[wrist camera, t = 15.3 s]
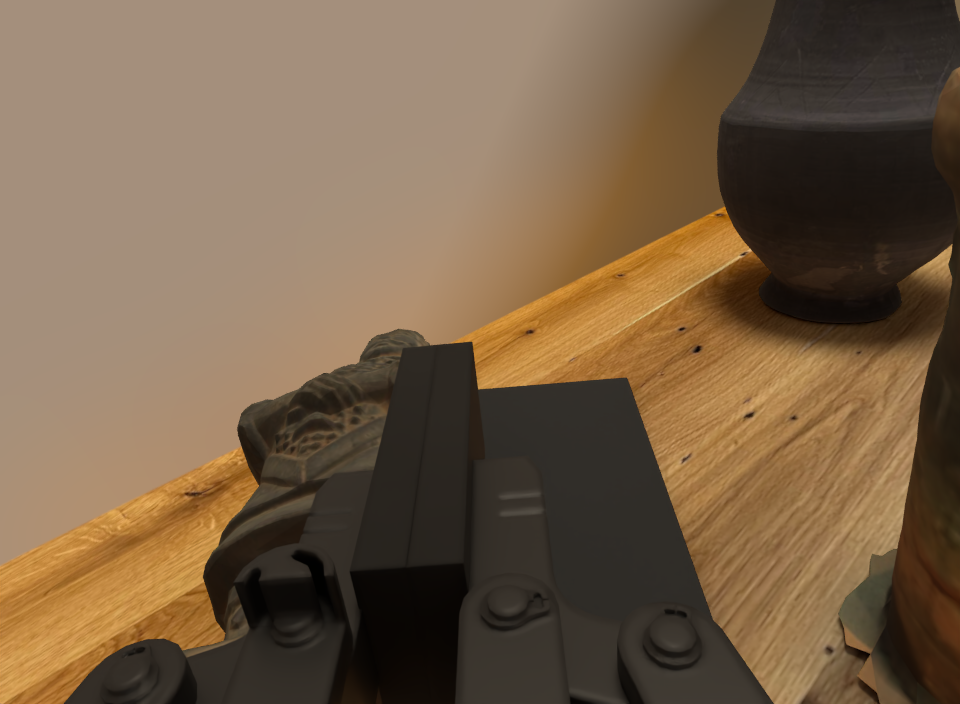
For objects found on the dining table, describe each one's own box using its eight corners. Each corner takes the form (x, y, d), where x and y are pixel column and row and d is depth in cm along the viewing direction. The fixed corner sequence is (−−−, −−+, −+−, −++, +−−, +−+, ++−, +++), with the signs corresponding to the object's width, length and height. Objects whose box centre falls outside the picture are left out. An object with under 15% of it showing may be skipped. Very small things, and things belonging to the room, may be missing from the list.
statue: (-25, 717, 17) (280, 286, 44) (175, 913, 21) (343, 407, 48) (395, 597, 16) (445, 226, 43) (529, 833, 19) (497, 355, 46)
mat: (717, 644, 27) (717, 632, 26) (356, 665, 28) (353, 654, 27) (627, 385, 45) (627, 377, 44) (409, 403, 45) (408, 395, 45)
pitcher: (716, 256, 63) (737, -145, 50) (990, 262, 56) (1101, -206, 42) (702, 341, 49) (726, -191, 35) (1068, 363, 42) (1272, -294, 28)
